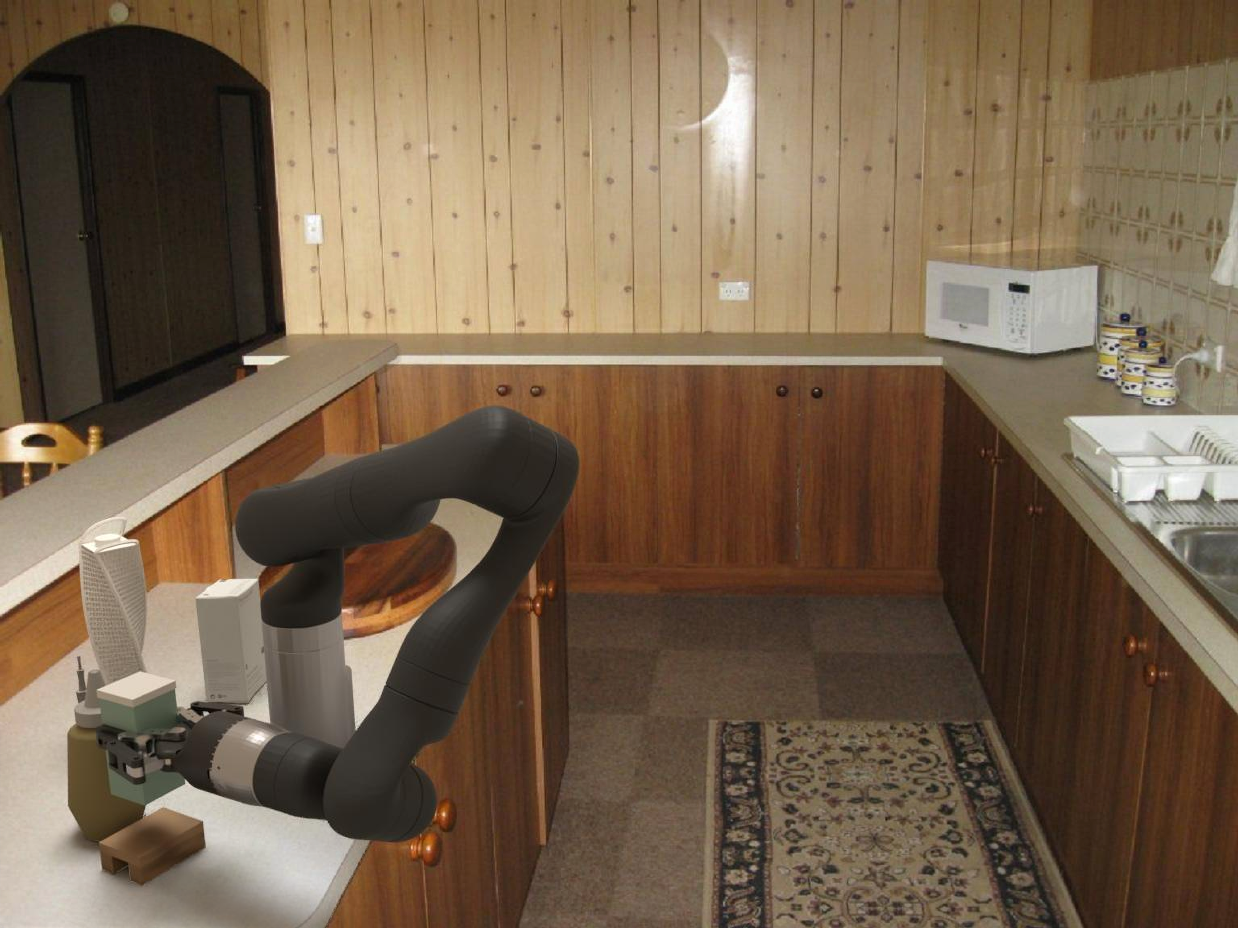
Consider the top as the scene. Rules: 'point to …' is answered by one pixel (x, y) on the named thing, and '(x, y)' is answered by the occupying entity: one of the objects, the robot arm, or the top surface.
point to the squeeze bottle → (94, 773)
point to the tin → (141, 728)
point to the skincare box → (231, 640)
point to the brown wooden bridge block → (152, 845)
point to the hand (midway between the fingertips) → (123, 723)
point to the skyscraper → (113, 604)
